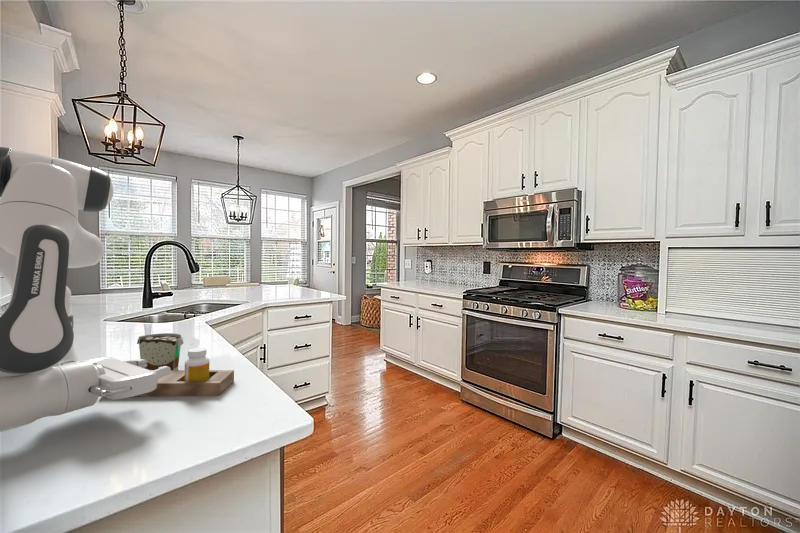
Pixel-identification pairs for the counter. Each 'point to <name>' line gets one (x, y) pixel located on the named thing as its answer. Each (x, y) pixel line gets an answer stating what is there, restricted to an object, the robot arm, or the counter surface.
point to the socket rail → (192, 384)
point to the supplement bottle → (197, 365)
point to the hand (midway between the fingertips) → (156, 366)
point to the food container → (160, 350)
